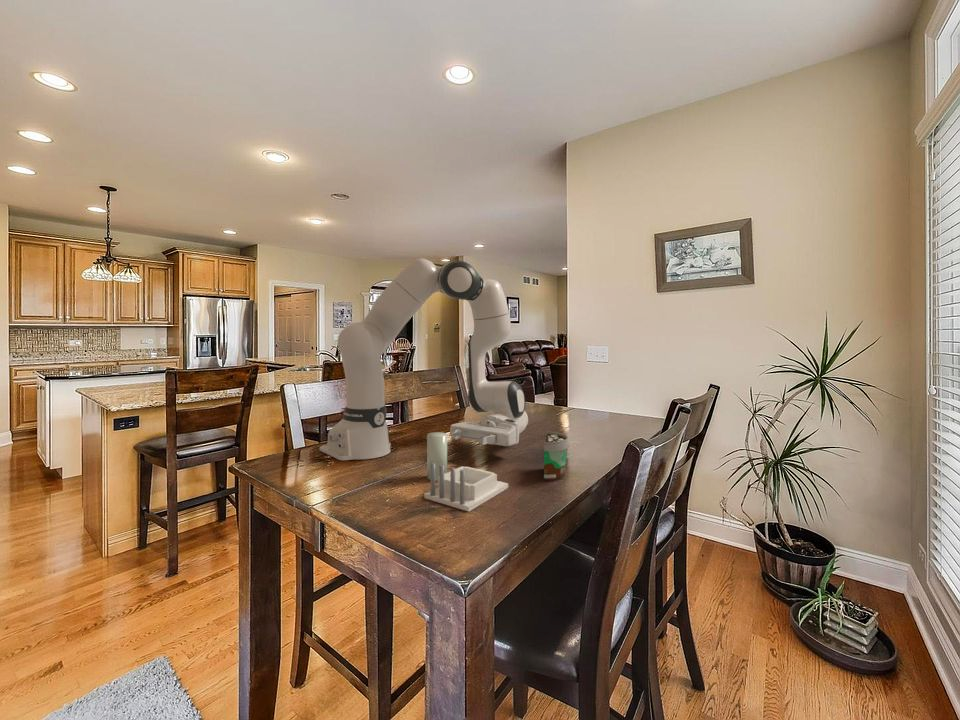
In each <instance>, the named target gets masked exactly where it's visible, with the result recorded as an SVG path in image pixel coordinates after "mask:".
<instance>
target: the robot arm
mask: <svg viewBox="0 0 960 720" xmlns="http://www.w3.org/2000/svg"><path fill="white" fill-rule="evenodd" d="M439 292H440V293H442V294H444V295H445V296H446V297H448V298H451V299H454V300H463V301H464V300H465V301H467V302H468V304H469V306H470V308H471V312H472V319H473V332H472V335H471V336H470V337H469V338H468V339H469V340H468V344H467V345H468V346H467V353H468V354H467V356H468V358H467V359H468V377H469V379H468V380H469V382H468V383H469V384H468V385H469V386H468V395H467V396H468V397H467V399H468V403H469V404H470V406H471V407H472V408H473V410H474V411H475V412H477V413H488V412H489V413H490V412H492V414H488V415H486V416H484V417H483V418H481V420H480V422H475V421H474V422H472V421H462V422H456V423H452V424H451V425H450V429H449V430H450V431H449V432H450V437H451V440H455V441H456V440H461V439H462V440H468V441H474V442H478V443H479V444H478V445H484V446H485V445H487V444H488V445H492V446H494V445H495V446H502V447H511V446H513V445H517V444H519V441H520V434H521V433H522V432H524V430H525V429H526V428H527V426H528V423H529V417H528V413H527V412H526V404H527V403H526V394H525V392H524V390H523V388H522V386H521V385H520V384H519V383H518V382H516V381H514V380H513V381H512V380H511V381H508V380H507V381H505V380H503V381H488V380H487V377H486V355H487V353H488V351H489V350H490V349H492V348H494V347H495V346H497V345H499V344H501V343H503V342H504V340H505V339H507V337H508V335H509V334H510V331H511V326H512V325H511V324H512V323H511V318H510V317H511V316H510V311H509V306H508V303H507V302H508V301H507V299H506V296H505V292H504V290H503V287H502V284H501V283H500V282H499V281H498V280H496V279H493V278H485V279H484V278H482V276H481V275H480V274H479V273H478V272H477V271H476V269H475V268H474V267H473V266H472V265H471V264H470V263H468V262H467V261H463V260H453V261H452V260H451V261H449V262H447V263H446V264H444V265H441V266H438V265H435V263H433V262H432V261H430V260H429V259H427V258H423V257H422V258H420V257H418V258H416V259H413V261H412V262H411V263H409V264H408V265H407V266H406V267H404V268H403V269H402V270H401V271H400V272H399V273H398V274H396V276H395V277H394V279H392V281H391V282H390V283H389V284H388V285H387V286H386V288H385V289H384V290H383V291H382V292H381V293H380V295H379V296H377V298H376V299H375V301H374V303H373V305H372V307H371V309H370V310H369V312H368V313H367V315H366V316H365V317H364V319H362V321H361V322H353V323H350V324H348V325H347V326H346V327H344V328H343V329H342V330H341V331H340V333H339V335H338V337H337V348H338V350H339V351H340V356H341V360H342V361H341V362H342V366H343V373H344V377H345V397H346V405H345V407H344V408H343V407H342V408H341V411H340V413H343V414H342V419H341V420H339V422H338V423H336V424H335V425H334V426H333V427H332V428H330V429H329V431H328V433H327V443H326V444H322V445H321V446H320V447H319V452H322V453H324V454H326V455H328V456H330V457H333V458H335V459H336V460H338V461H350V460H370V459H377V458H380V457H384V456H387V455H389V454H390V453H391V450H392V449H391V447H392V444H391V442H390V441H389V432H388V431H389V430H388V423H387V421H386V418H387V413H388V411H387V405H386V403H385V400H386V399H385V396H386V395H385V392H386V391H385V389H386V388H385V378H384V372H383V367H382V360H381V356H382V355H383V354H384V353H385V352H386V350H387V349H388V348H389V347H390V346H391V344H392V343H393V342H394V340H396V338H397V336H398V335H399V334H400V332H401V331H402V330H403V328H404V327H405V326H406V324H407V323H408V322H409V321H410V320H411V318H412V317H413V316H414V315H415V314H416V313H417V312H418V311H419V309H420V308H422V307H423V305H424V304H425V303H426V302H427V300H428V299H429V298H430V297H431V296H432V295H434V294H435V293H439Z"/></svg>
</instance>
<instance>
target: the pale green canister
mask: <svg viewBox="0 0 960 720" xmlns="http://www.w3.org/2000/svg"><path fill="white" fill-rule="evenodd" d="M426 460H427V461H426V479H427V480H428V481H430V482H431V463H435V482H438V477H439V466H440V465H444V474H446V473H448V434H447V433H446V432H441V431H435V432H434V431H433V432H428V433H427V434H426Z"/></svg>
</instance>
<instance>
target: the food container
mask: <svg viewBox="0 0 960 720" xmlns="http://www.w3.org/2000/svg"><path fill="white" fill-rule="evenodd" d="M545 434H546V437H545V441H544V443H543V444H544V445H543V446H544V447H543V452H544V453H543V459H544V460H543V481H544V482H556V481H560V480H562V478H563V477H564V478H565V473H566V465H567V464H566V462H567V451H568V449H569V448H570V445H571V444H570V440H569V438H568V436H567V435H566V434H563V433H561V432H557V431H548V430H547V431H546V433H545ZM564 478H563V479H564ZM555 480H556V481H555Z"/></svg>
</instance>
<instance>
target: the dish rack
mask: <svg viewBox="0 0 960 720" xmlns="http://www.w3.org/2000/svg"><path fill="white" fill-rule="evenodd" d="M437 483H438V484H437V485H438V487H436V481H435V463H431V481H430V490H429V491H428V492H424V495H423V497H424V499H426V500H429V501H433V502H435V503H440V504H443V505H446V506H449V507H453V508H456V509H459V510H462V511H465V512H470V511H472V510H474V509H476V508H477V507H479V506H480V505H482V504H484V503H486V502H487V501H488V500H490V499H492V498H493V497H495V496H497V495H499V494H501V493H502V492H503V491H505V490H507V489H509V483H507V482H504V481H499V480H498V474H497V473H495V472H492V471H487V470H483V469H479V468H476V467H475V468H474V467H470V466H463V465H462V466H460V467H457V468H456V467H450V470H449V472H448V471H447V473H446V474H444V465H440V466H439V477H438V481H437Z"/></svg>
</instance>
